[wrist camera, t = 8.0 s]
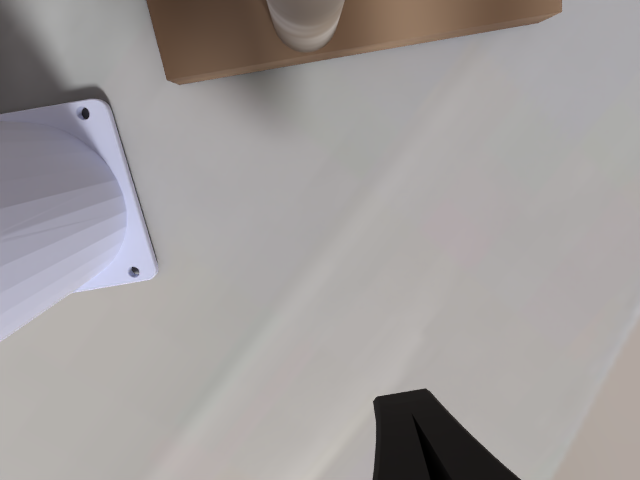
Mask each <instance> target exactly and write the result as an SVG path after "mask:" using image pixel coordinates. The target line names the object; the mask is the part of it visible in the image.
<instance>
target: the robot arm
mask: <svg viewBox="0 0 640 480" xmlns="http://www.w3.org/2000/svg"><path fill="white" fill-rule="evenodd" d="M83 108H87V109H88V111H89V113H90V116H89V118H88V119H84V118H83V116H82V110H83ZM132 267H136V268H138V269H139V271H140V274H135V273H133V271H132ZM157 272H158V264H157V261H156V257H155V254H154V251H153V247H152V244H151V241H150V237H149V234H148V231H147V227H146V224H145V221H144V217H143V214H142V211H141V207H140V204H139V201H138V197H137V194H136V191H135V187H134V184H133V181H132V177H131V174H130V171H129V167H128V164H127V161H126V157H125V154H124V151H123V147H122V144H121V141H120V137H119V134H118V131H117V127H116V124H115V121H114V117H113V114H112V111H111V108H110V106H109V105H108V104H107V103H106V102H105V101H103V100H101V99H93V98H91V99H86V100H80V101H74V102H68V103H62V104H57V105H51V106H45V107H39V108H33V109H28V110H22V111H16V112H10V113H4V114H0V342H1V341H2V340H4V339H5V338H7V337H8V336H10V335H11V334H12V333H14V332H15V331H17V330H18V329H20V328H21V327H23V326H24V325H25V324H27V323H28V322H30V321H31V320H33V319H34V318H36V317H37V316H39V315H40V314H41V313H43V312H44V311H46V310H47V309H49V308H50V307H52V306H53V305H54V304H56V303H57V302H59V301H60V300H62V299H63V298H65V297H66V296H67V295H69V294H70V293H74V292H80V291H86V290H92V289H98V288H104V287H110V286H116V285H122V284H127V283H133V282H139V281H145V280H149V279H152V278H153V277H154V276H155V275H156V274H157ZM373 404H374V411H375V418H376V449H375V462H374V473H373V480H521V479H520V478H518V477H517V476H516V475H515V474H514V473H512V472H511V471H510V470H509V469H508V468H507V467H506V466H504V465H503V464H502V463H501V462H500V461H499V460H498V459H497V458H495V457H494V456H493V455H492V454H491V453H490V452H489V451H488V450H487V449H486V448H485V447H484V446H483V445H481V444H480V443H479V442H478V441H477V440H476V439H475V438H474V437H473V436H472V435H471V434H470V433H469V432H468V431H467V430H466V429H465V428H464V427H463V426H462V425H461V424H460V423H459V422H458V421H457V420H456V419H455V418H454V417H453V416H452V415H451V414H450V413H449V412H448V411H447V410H446V409H445V408H444V407H443V405H442V404H441V403H440V402H439V401H438V400H437V399H436V398H435V397H434V395H433V394H432V393H431V392H430V391H428V390H427V389H420V390H414V391H408V392H402V393H396V394H390V395H384V396H378V397H376V398H375V400H374V401H373Z"/></svg>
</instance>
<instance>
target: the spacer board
mask: <svg viewBox="0 0 640 480" xmlns="http://www.w3.org/2000/svg"><path fill="white" fill-rule="evenodd" d="M146 1H147V4H148V8H149V12H150V16H151V20H152V24H153V28H154V32H155V36H156V40H157V44H158V47H159V51H160V55H161V59H162V63H163V67H164V71H165V75H166V79H167V80H168V81H171V82H173V83H176V84H179V85H181V84H187V83H193V82H199V81H204V80H210V79H216V78H222V77H228V76H233V75H239V74H245V73H251V72H257V71H262V70H268V69H274V68H280V67H286V66H291V65H297V64H303V63H309V62H315V61H320V60H326V59H332V58H338V57H344V56H349V55H355V54H361V53H367V52H373V51H378V50H384V49H390V48H396V47H402V46H407V45H413V44H419V43H425V42H431V41H436V40H442V39H448V38H454V37H460V36H465V35H471V34H477V33H483V32H489V31H494V30H500V29H506V28H512V27H518V26H523V25H529V24H535V23H539V22H541V21H543V20H546V19H548V18H550V17H552V16H554V15H556V14H558V13H561V12H562V0H146Z"/></svg>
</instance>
